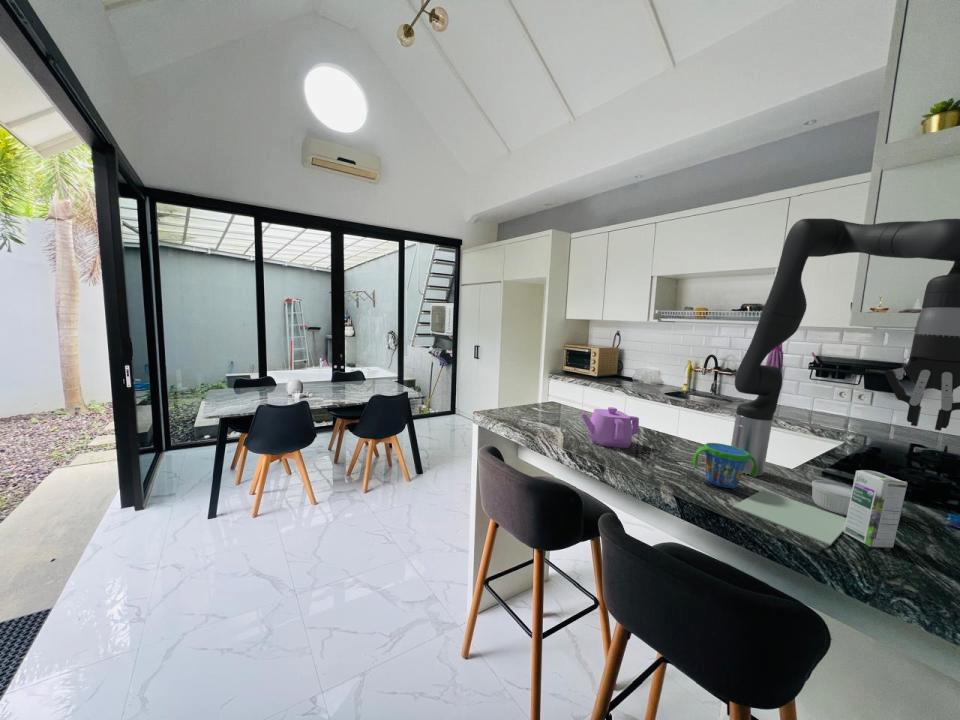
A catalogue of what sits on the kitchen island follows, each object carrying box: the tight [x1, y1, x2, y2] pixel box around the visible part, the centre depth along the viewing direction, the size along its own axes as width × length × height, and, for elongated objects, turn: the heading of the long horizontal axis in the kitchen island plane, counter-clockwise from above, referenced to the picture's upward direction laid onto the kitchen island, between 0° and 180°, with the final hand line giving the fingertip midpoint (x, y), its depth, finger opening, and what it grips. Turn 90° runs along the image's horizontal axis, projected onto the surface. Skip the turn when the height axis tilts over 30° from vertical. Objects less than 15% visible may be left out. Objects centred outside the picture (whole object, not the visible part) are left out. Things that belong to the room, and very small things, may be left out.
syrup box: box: [842, 469, 909, 548], centre depth 83 cm, size 6×6×14 cm
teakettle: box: [580, 406, 640, 449], centre depth 140 cm, size 17×17×12 cm
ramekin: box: [811, 479, 853, 517], centre depth 99 cm, size 11×11×5 cm
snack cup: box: [692, 442, 757, 490], centre depth 108 cm, size 16×10×10 cm
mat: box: [732, 489, 847, 547], centre depth 93 cm, size 20×18×1 cm
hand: (925, 427), depth 72 cm, fingers open, 2 cm apart
